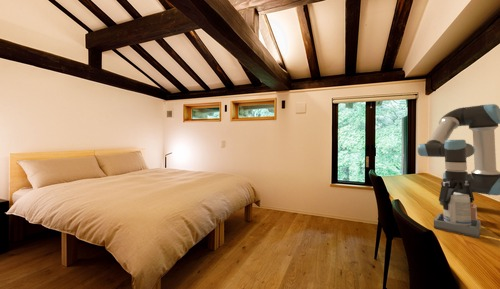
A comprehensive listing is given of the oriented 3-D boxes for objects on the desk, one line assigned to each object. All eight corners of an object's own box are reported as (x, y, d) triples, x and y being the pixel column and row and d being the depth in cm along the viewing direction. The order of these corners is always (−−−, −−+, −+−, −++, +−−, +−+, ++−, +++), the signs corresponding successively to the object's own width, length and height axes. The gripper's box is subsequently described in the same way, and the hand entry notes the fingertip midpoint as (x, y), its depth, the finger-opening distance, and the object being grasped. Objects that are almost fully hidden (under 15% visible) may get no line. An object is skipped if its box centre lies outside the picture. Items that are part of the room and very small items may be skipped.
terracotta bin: (450, 216, 116) (450, 200, 116) (477, 221, 108) (476, 204, 108) (448, 220, 110) (448, 204, 110) (475, 226, 102) (475, 208, 102)
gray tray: (439, 220, 110) (439, 213, 110) (480, 228, 99) (480, 220, 99) (433, 228, 101) (433, 220, 101) (479, 238, 89) (479, 229, 89)
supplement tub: (473, 224, 98) (472, 194, 98) (468, 229, 93) (468, 197, 93) (446, 218, 106) (445, 190, 106) (440, 222, 101) (440, 193, 101)
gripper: (466, 168, 105) (467, 211, 105) (428, 170, 102) (429, 214, 102) (484, 170, 97) (485, 217, 97) (443, 172, 95) (444, 219, 95)
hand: (456, 215), depth 100 cm, fingers closed on supplement tub, 9 cm apart
